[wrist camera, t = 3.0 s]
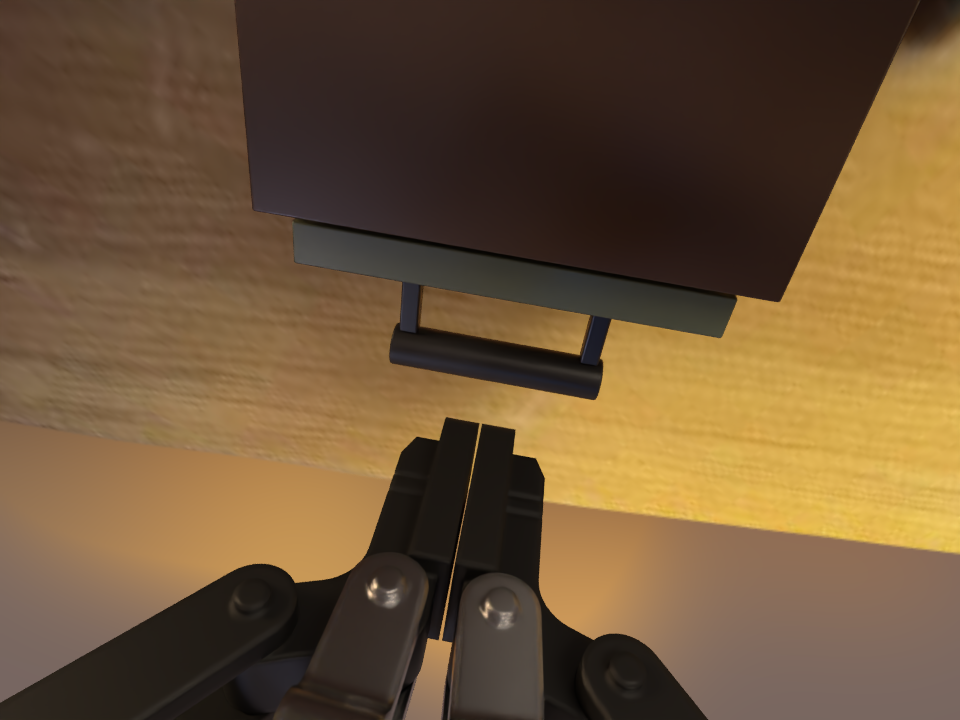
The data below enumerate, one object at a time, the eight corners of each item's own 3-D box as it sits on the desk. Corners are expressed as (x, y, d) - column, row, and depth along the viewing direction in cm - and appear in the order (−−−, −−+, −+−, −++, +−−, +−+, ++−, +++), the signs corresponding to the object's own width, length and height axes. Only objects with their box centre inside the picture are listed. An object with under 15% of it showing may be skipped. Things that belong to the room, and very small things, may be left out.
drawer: (645, 332, 25) (667, 468, 19) (369, 283, 26) (300, 400, 19) (858, -308, 15) (1068, -487, 8) (388, -375, 15) (251, -592, 9)
